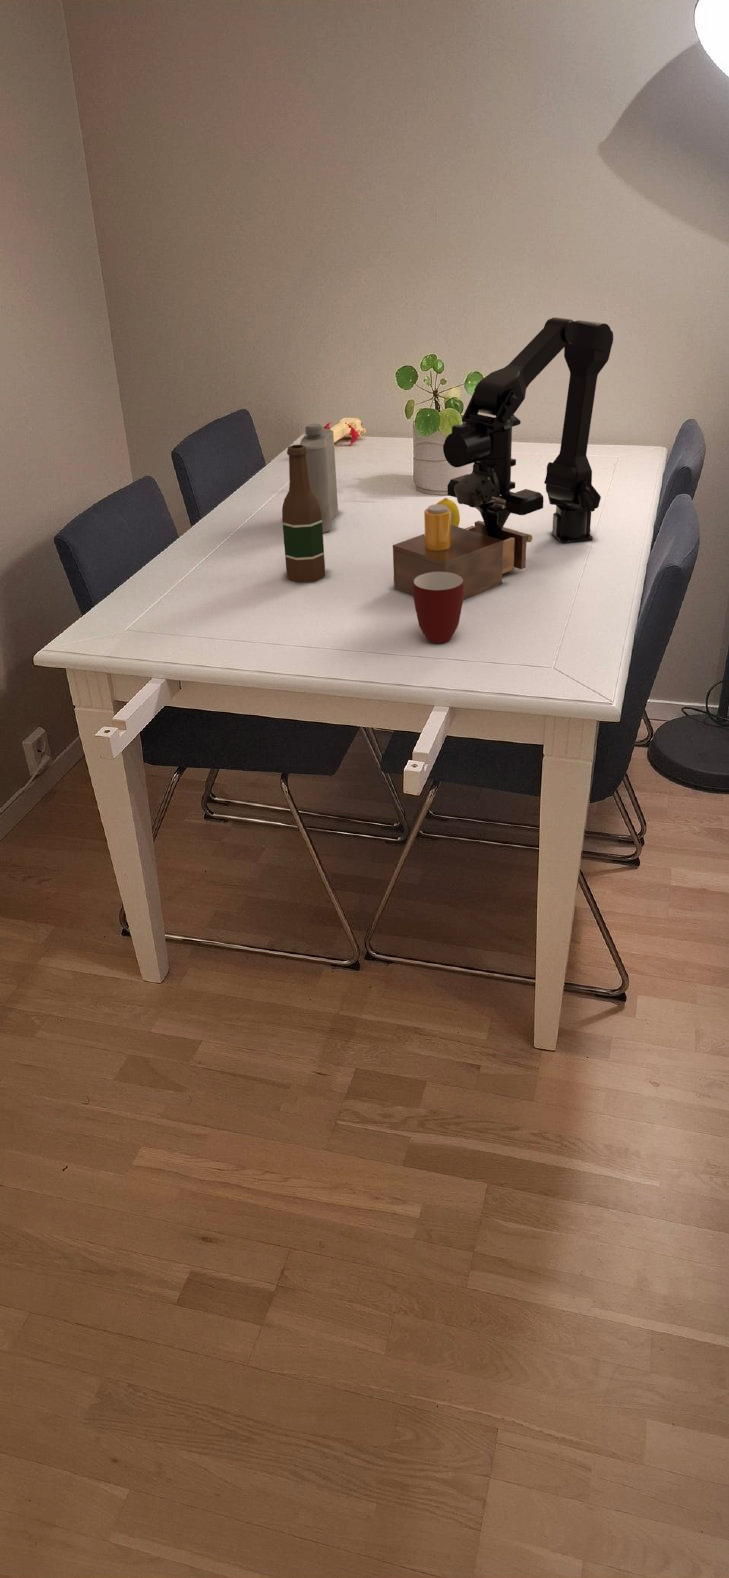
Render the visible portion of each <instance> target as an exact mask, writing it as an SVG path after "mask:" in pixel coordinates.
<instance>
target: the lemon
mask: <svg viewBox="0 0 729 1578" xmlns="http://www.w3.org/2000/svg"><path fill="white" fill-rule="evenodd" d="M436 504H442V505H446V506H447V508H449V509H450V510H451V525H453V526H457V527H460V526H459V525H460V521H461V513H460V510H459V507H458V505H457V503H456V502H454V501H453V500H451V499H449V498H448V497H444V498H443V499H441V500H439V501H438V502H436Z"/></svg>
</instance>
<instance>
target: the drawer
mask: <svg viewBox="0 0 729 1578" xmlns="http://www.w3.org/2000/svg"><path fill="white" fill-rule="evenodd" d="M464 529H467V530H470V531H473V532H477V533H480V534H483V535H487V536H488V533H487V530H486V527H485V524H484V521H482V520H476V521H474V525H470V526H467V527H464ZM497 539H500V540H503V568H502V575H503V574H505V573H508V572H511V571H513V570H514V569H518V570H525V569H526V565H527V543H531V542H532V541H533V535H532V534H529V533H526V532H522V531H519V530H516V529H512V528H509V527H505V526H503V528H502V530H501V532H500V534H499V536H498V538H497Z"/></svg>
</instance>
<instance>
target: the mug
mask: <svg viewBox="0 0 729 1578" xmlns="http://www.w3.org/2000/svg"><path fill="white" fill-rule="evenodd" d="M412 596H413V603H414V607H415V613H416V619H417V623H418V626H419V628H420V630H421V633H422V634H423V636H424V637H425V639H426V641H428V642H429V643H433V644H444V643H448V642H449V641H451V640H452V638H453V636H454V634H455V632H456V631H457V629H458V626H459V623H460V619H461V613H462V608H463V603H464V600H463V597H464V581H463V578H462V577H461V576H459V575H457V574H454V573H449V572H430V573H425V574H422V575H419V576H417V577H416V578H415V579H414V580H413V595H412Z"/></svg>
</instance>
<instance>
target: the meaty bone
mask: <svg viewBox="0 0 729 1578" xmlns="http://www.w3.org/2000/svg"><path fill="white" fill-rule="evenodd" d="M332 423H333V421H330V422H328V423H326V424H325V425H323V429H330V430H332V431H333V434H334V444H335V443H336V442H337V441H339V440H341V439H342V438H351V440H350V443H348V446H351V445H353V444H354V443H356V441H358V439H359V438H360V437H362V435H364V434H365V433H366V431H367V430H366V428H363V427H362V426H363V422H362V420H361V419H360V418H357V417H343V418H342V419H340V420H339V421H338V422H337V423H338V424H334V425H333V426H332V427H330V424H332Z"/></svg>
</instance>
